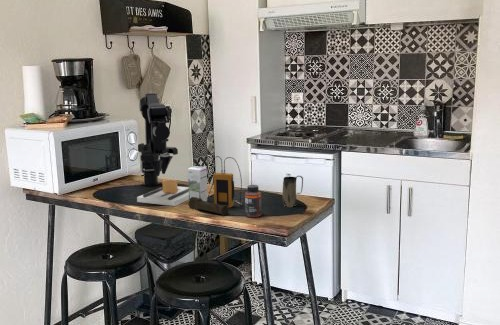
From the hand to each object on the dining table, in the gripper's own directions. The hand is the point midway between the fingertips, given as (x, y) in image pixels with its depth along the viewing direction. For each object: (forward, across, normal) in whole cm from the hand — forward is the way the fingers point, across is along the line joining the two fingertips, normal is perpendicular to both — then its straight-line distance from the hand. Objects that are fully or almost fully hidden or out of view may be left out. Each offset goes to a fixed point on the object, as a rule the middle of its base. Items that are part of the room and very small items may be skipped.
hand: (160, 174), depth 206 cm
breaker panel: (+11, -6, 0) cm, 13 cm away
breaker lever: (+9, -7, 0) cm, 11 cm away
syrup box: (+11, -4, +15) cm, 19 cm away
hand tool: (+12, +7, +24) cm, 27 cm away
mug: (+11, -12, +52) cm, 55 cm away
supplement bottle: (+11, +6, +43) cm, 45 cm away
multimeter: (+11, -6, +27) cm, 30 cm away
